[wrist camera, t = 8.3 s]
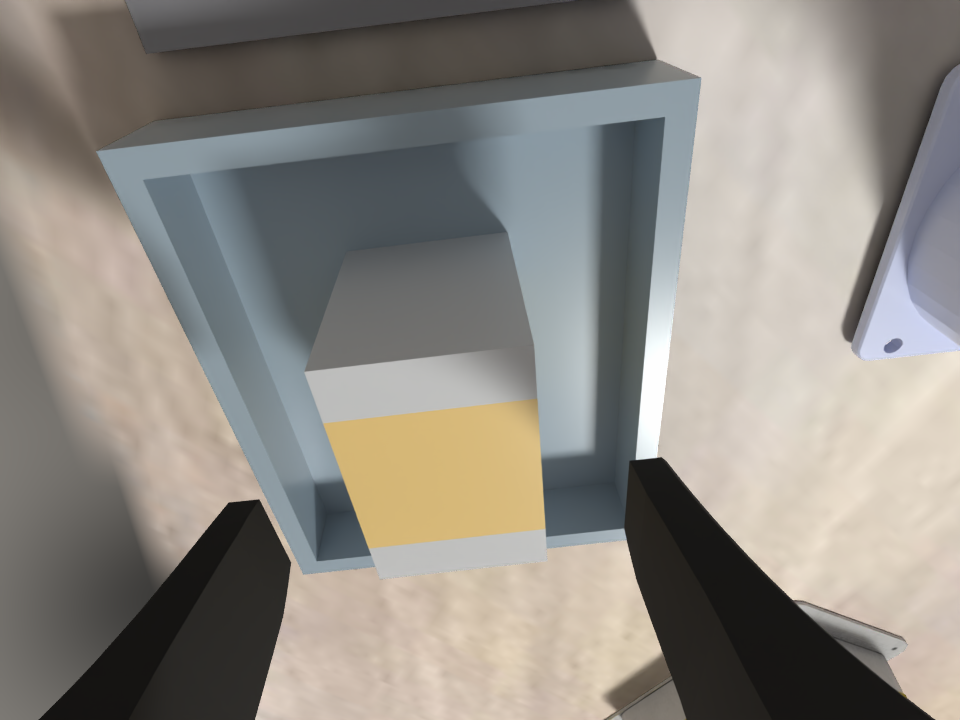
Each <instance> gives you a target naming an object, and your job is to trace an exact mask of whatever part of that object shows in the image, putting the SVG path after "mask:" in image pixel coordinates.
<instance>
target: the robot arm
mask: <svg viewBox="0 0 960 720" xmlns="http://www.w3.org/2000/svg"><path fill="white" fill-rule="evenodd" d="M890 340H891V342H889V341H890ZM887 342H889V343H888V344H886V343H887ZM851 349H852V351H853V353H855V354H856V355H857V356H858V357H859V358H860V359H862V360H867V361H871V360H880V359H889V358H898V357H907V356H916V355H925V354H934V353H943V352H952V351H960V64H959V65H957V66H956V67H954V68H953V69H952V70H951V72H950V73H949V74H948V75H947V76H946V78H945V80H944V81H943V83H942V85H941V88H940V91H939V94H938V96H937V99H936V102H935V105H934V108H933V111H932V114H931V117H930V119H929V122H928V125H927V128H926V131H925V134H924V137H923V140H922V142H921V145H920V148H919V151H918V154H917V157H916V160H915V163H914V165H913V168H912V171H911V174H910V177H909V180H908V183H907V186H906V188H905V191H904V194H903V197H902V200H901V203H900V206H899V209H898V211H897V214H896V217H895V220H894V223H893V226H892V229H891V232H890V235H889V237H888V240H887V243H886V246H885V249H884V252H883V255H882V258H881V260H880V263H879V266H878V269H877V272H876V275H875V278H874V281H873V283H872V286H871V289H870V292H869V295H868V298H867V301H866V304H865V306H864V309H863V312H862V315H861V318H860V321H859V324H858V327H857V329H856V332H855V335H854V338H853V341H852V345H851ZM624 530H625V534H626V539H627V543H628V547H629V551H630V556H631V560H632V563H633V567H634V571H635V575H636V579H637V582H638V585H639V588H640V591H641V594H642V596H643V599H644V602H645V605H646V608H647V610H648V613H649V616H650V619H651V621H652V624H653V627H654V630H655V632H656V635H657V638H658V641H659V643H660V646H661V649H662V652H663V654H664V657H665V660H666V663H667V665H668V668H669V671H670V674H671V676H672V679H673V682H674V685H675V687H676V690H677V693H678V695H679V698H680V701H681V704H682V708H683V711H684V714H685V717H686V720H935V719H933V718H932V717H931V716H929V715H928V714H927V713H926V712H924V711H923V710H922V709H920V708H919V707H918V706H916V705H915V704H914V703H913V702H911V701H910V700H909V699H907V698H906V697H905V696H903V695H902V694H901V693H900V692H898V691H897V690H896V689H894V688H893V687H892V686H890V685H889V684H888V683H887V682H885V681H884V680H883V679H882V678H881V677H879V676H878V675H877V674H876V673H875V672H873V671H872V670H871V669H870V668H869V667H867V666H866V665H865V664H864V663H863V662H861V661H860V660H859V659H858V658H857V657H855V656H854V655H853V654H852V653H851V652H849V651H848V650H847V649H846V648H845V647H844V646H843V645H841V644H840V643H839V642H838V641H837V640H836V639H835V638H833V637H832V636H831V635H830V634H829V633H828V632H827V631H825V630H824V629H823V628H822V627H821V626H820V625H819V624H818V623H816V622H815V621H814V620H813V619H812V618H811V617H810V616H809V615H808V614H807V613H806V612H805V611H803V610H802V609H801V608H800V607H799V606H798V605H797V604H796V603H795V602H794V601H793V600H792V599H791V598H790V597H789V596H788V595H787V594H786V593H785V592H784V591H783V590H782V589H781V588H779V587H778V586H777V585H776V584H775V583H774V582H773V581H772V580H771V579H770V578H769V577H768V576H767V575H766V574H765V573H764V572H763V571H762V570H761V569H760V568H759V567H758V566H757V565H756V564H755V562H754V561H753V560H752V559H751V558H750V557H749V556H748V555H747V554H746V553H745V552H744V551H743V550H742V549H741V548H740V547H739V545H738V544H737V543H736V542H735V541H734V540H733V539H732V538H731V537H730V536H729V535H728V534H727V533H726V532H725V530H724V529H723V528H722V527H721V526H720V525H719V524H718V523H717V522H716V520H715V519H714V518H713V517H712V516H711V515H710V514H709V512H708V511H707V510H706V509H705V508H704V507H703V505H702V504H701V503H700V502H699V501H698V500H697V498H696V497H695V496H694V495H693V494H692V492H691V491H690V490H689V489H688V488H687V486H686V485H685V484H684V483H683V482H682V480H681V479H680V478H679V477H678V475H677V474H676V473H675V472H674V470H673V469H672V468H671V466H670V465H669V464H668V463H667V461H665V460H664V459H663V458H662V457H660V458H650V459H641V460H631V461H629V472H628V485H627V498H626V510H625V523H624ZM290 567H291V561H290V559H289V557H288V555H287V553H286V552H285V550H284V548H283V546H282V544H281V542H280V540H279V538H278V536H277V534H276V532H275V530H274V528H273V526H272V524H271V522H270V520H269V518H268V516H267V514H266V512H265V510H264V508H263V506H262V504H261V502H260V500H250V501H240V502H230V503H228V504H227V505H226V507H225V508H224V509H223V510H222V511H221V513H220V514H219V515H218V516H217V518H216V519H215V520H214V521H213V522H212V524H211V525H210V526H209V527H208V529H207V530H206V531H205V532H204V534H203V535H202V536H201V537H200V539H199V540H198V541H197V542H196V544H195V545H194V546H193V547H192V549H191V550H190V551H189V552H188V553H187V555H186V556H185V557H184V558H183V560H182V561H181V562H180V563H179V565H178V566H177V567H176V568H175V570H174V571H173V572H172V573H171V574H170V576H169V577H168V578H167V579H166V581H165V582H164V583H163V584H162V585H161V587H160V588H159V589H158V590H157V591H156V593H155V594H154V595H153V596H152V597H151V599H150V600H149V601H148V602H147V604H146V605H145V606H144V607H143V608H142V609H141V611H140V612H139V613H138V614H137V615H136V617H135V618H134V619H133V620H132V621H131V622H130V623H129V625H127V627H126V628H125V629H124V630H123V631H122V632H121V633H120V634H119V636H118V637H117V638H116V639H115V640H114V641H113V642H112V643H111V645H110V646H109V647H108V648H107V649H106V650H105V651H104V652H103V654H102V655H101V656H100V657H99V658H98V659H97V660H96V661H95V663H94V664H93V665H92V666H91V667H90V668H89V669H88V670H87V671H86V672H85V673H84V674H83V675H82V677H80V679H79V680H78V681H77V682H76V683H75V684H74V685H73V686H72V687H71V688H70V689H69V690H68V691H67V692H66V693H65V694H64V695H63V696H62V697H61V698H60V699H59V700H58V701H57V702H56V703H55V704H54V705H53V706H52V707H51V708H50V709H49V710H48V711H47V712H46V713H45V714H44V715H43V716H42V717H41V718H40V719H39V720H255V717H256V714H257V710H258V706H259V703H260V699H261V696H262V692H263V688H264V685H265V681H266V678H267V674H268V670H269V667H270V663H271V660H272V656H273V652H274V648H275V645H276V641H277V637H278V634H279V630H280V626H281V622H282V618H283V614H284V608H285V602H286V596H287V589H288V582H289V574H290Z"/></svg>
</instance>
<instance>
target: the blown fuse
mask: <svg viewBox="0 0 960 720" xmlns="http://www.w3.org/2000/svg"><path fill="white" fill-rule="evenodd" d="M304 373H305V376H306V378H307V381H308V384H309V387H310V389H311V392H312V395H313V398H314V400H315V403H316V406H317V408H318V411H319V414H320V417H321V419H322V422H323V425H324V428H325V430H326V433H327V436H328V439H329V441H330V444H331V447H332V449H333V452H334V455H335V458H336V460H337V463H338V466H339V469H340V471H341V474H342V477H343V480H344V482H345V485H346V488H347V491H348V493H349V496H350V499H351V501H352V504H353V507H354V510H355V512H356V515H357V518H358V521H359V523H360V526H361V529H362V532H363V534H364V537H365V540H366V542H367V545H368V548H369V551H370V553H371V556H372V559H373V562H374V564H375V567H376V570H377V573H378V575H379V578H380V579H388V578H398V577H407V576H416V575H425V574H434V573H443V572H452V571H461V570H471V569H480V568H489V567H498V566H507V565H516V564H525V563H534V562H544V561H547V546H546V530H545V513H544V497H543V481H542V464H541V448H540V432H539V415H538V399H537V383H536V366H535V350H534V342H533V338H532V333H531V329H530V325H529V321H528V316H527V312H526V308H525V304H524V299H523V295H522V291H521V287H520V282H519V278H518V274H517V270H516V266H515V261H514V257H513V253H512V249H511V244H510V240H509V236H508V232H502V233H494V234H486V235H478V236H469V237H461V238H453V239H445V240H437V241H428V242H420V243H412V244H404V245H396V246H388V247H379V248H371V249H363V250H355V251H347V252H346V254H345V257H344V260H343V263H342V266H341V268H340V271H339V274H338V277H337V280H336V283H335V285H334V288H333V291H332V294H331V297H330V300H329V303H328V305H327V308H326V311H325V314H324V317H323V320H322V322H321V325H320V328H319V331H318V334H317V337H316V339H315V342H314V345H313V348H312V351H311V354H310V357H309V359H308V362H307V365H306V368H305V371H304Z"/></svg>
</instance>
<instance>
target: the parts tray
mask: <svg viewBox="0 0 960 720" xmlns="http://www.w3.org/2000/svg"><path fill="white" fill-rule="evenodd" d="M700 86H701V77H698V76H696V75H694V74H691V73H689V72H686V71H684V70H682V69H679V68H677V67H675V66H672V65H670V64H668V63H665V62H663V61H660V60H650V61H642V62H634V63H626V64H617V65H609V66H601V67H593V68H585V69H577V70H568V71H560V72H552V73H544V74H536V75H527V76H519V77H511V78H503V79H495V80H486V81H478V82H470V83H462V84H454V85H445V86H437V87H429V88H421V89H413V90H404V91H396V92H388V93H380V94H372V95H363V96H355V97H347V98H339V99H331V100H322V101H314V102H306V103H298V104H290V105H282V106H273V107H265V108H257V109H249V110H241V111H232V112H224V113H216V114H208V115H200V116H191V117H183V118H175V119H167V120H159V121H153V122H151V123H149V124H148V125H146V126H144V127H142V128H140V129H138V130H136V131H134V132H132V133H130V134H128V135H126V136H124V137H123V138H121V139H119V140H117V141H115V142H113V143H111V144H109V145H107V146H105V147H103V148H101V149H99V150H98V151H96V152H97V154H98V156H99V158H100V160H101V162H102V164H103V166H104V168H105V170H106V173H107V175H108V177H109V179H110V181H111V183H112V185H113V187H114V189H115V191H116V193H117V195H118V197H119V199H120V201H121V203H122V205H123V207H124V209H125V211H126V213H127V215H128V217H129V219H130V221H131V224H132V226H133V228H134V230H135V232H136V234H137V236H138V238H139V240H140V242H141V244H142V246H143V248H144V250H145V252H146V254H147V256H148V258H149V260H150V262H151V264H152V266H153V268H154V270H155V272H156V275H157V277H158V279H159V281H160V283H161V285H162V287H163V289H164V291H165V293H166V295H167V297H168V299H169V301H170V303H171V305H172V307H173V309H174V311H175V313H176V315H177V317H178V319H179V321H180V324H181V326H182V328H183V330H184V332H185V334H186V336H187V338H188V340H189V342H190V344H191V346H192V348H193V350H194V352H195V354H196V356H197V358H198V360H199V362H200V364H201V366H202V368H203V370H204V372H205V375H206V377H207V379H208V381H209V383H210V385H211V387H212V389H213V391H214V393H215V395H216V397H217V399H218V401H219V403H220V405H221V407H222V409H223V411H224V413H225V415H226V417H227V419H228V421H229V423H230V426H231V428H232V430H233V432H234V434H235V436H236V438H237V440H238V442H239V444H240V446H241V448H242V450H243V452H244V454H245V456H246V458H247V460H248V462H249V464H250V466H251V468H252V470H253V472H254V475H255V477H256V479H257V481H258V483H259V485H260V487H261V489H262V491H263V493H264V495H265V497H266V499H267V501H268V503H269V505H270V507H271V509H272V511H273V513H274V515H275V517H276V519H277V521H278V523H279V526H280V528H281V530H282V532H283V534H284V536H285V538H286V540H287V542H288V544H289V546H290V548H291V550H292V552H293V554H294V556H295V558H296V560H297V562H298V564H299V566H300V568H301V570H302V572H303V574H313V573H322V572H332V571H341V570H350V569H360V568H369V567H375V564H374V562H373V559H372V556H371V553H370V551H369V548H368V545H367V542H366V540H365V537H364V534H363V532H362V529H361V526H360V523H359V521H358V518H357V515H356V512H355V510H354V507H353V504H352V501H351V499H350V496H349V493H348V491H347V488H346V485H345V482H344V480H343V477H342V474H341V471H340V469H339V466H338V463H337V460H336V458H335V455H334V452H333V449H332V447H331V444H330V441H329V439H328V436H327V433H326V430H325V428H324V425H323V422H322V419H321V417H320V414H319V411H318V408H317V406H316V403H315V400H314V398H313V395H312V392H311V389H310V387H309V384H308V381H307V378H306V376H305V373H304V371H305V368H306V365H307V362H308V359H309V357H310V354H311V351H312V348H313V345H314V342H315V339H316V337H317V334H318V331H319V328H320V325H321V322H322V320H323V317H324V314H325V311H326V308H327V305H328V303H329V300H330V297H331V294H332V291H333V288H334V285H335V283H336V280H337V277H338V274H339V271H340V268H341V266H342V263H343V260H344V257H345V254H346V252H347V251H355V250H363V249H371V248H379V247H388V246H396V245H404V244H412V243H420V242H428V241H437V240H445V239H453V238H461V237H469V236H478V235H486V234H494V233H502V232H508V236H509V240H510V244H511V249H512V253H513V257H514V261H515V266H516V270H517V274H518V278H519V282H520V287H521V291H522V295H523V299H524V304H525V308H526V312H527V316H528V321H529V325H530V329H531V333H532V338H533V342H534V350H535V366H536V383H537V399H538V415H539V432H540V448H541V464H542V481H543V497H544V513H545V530H546V546H547V548H556V547H566V546H575V545H585V544H594V543H603V542H613V541H622V540H627V539H626V534H625V530H624V523H625V510H626V498H627V485H628V472H629V461H631V460H641V459H650V458H657V451H658V442H659V434H660V425H661V417H662V408H663V400H664V391H665V383H666V374H667V366H668V357H669V349H670V340H671V332H672V323H673V315H674V306H675V298H676V290H677V281H678V273H679V264H680V256H681V247H682V239H683V230H684V222H685V213H686V205H687V196H688V188H689V179H690V171H691V162H692V154H693V145H694V137H695V128H696V120H697V111H698V103H699V94H700Z"/></svg>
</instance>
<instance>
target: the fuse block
mask: <svg viewBox="0 0 960 720" xmlns="http://www.w3.org/2000/svg"><path fill="white" fill-rule="evenodd" d="M568 1H576V0H125V2H126V4H127V7H128V9H129V12H130V14H131V17H132V19H133V22H134V24H135V27H136V29H137V32H138V34H139V37H140V39H141V42H142V44H143V47H144V49H145V52H146V54H149V53H157V52H165V51H173V50H181V49H189V48H197V47H205V46H213V45H221V44H229V43H238V42H246V41H254V40H262V39H270V38H278V37H286V36H294V35H302V34H310V33H318V32H326V31H334V30H342V29H350V28H358V27H366V26H374V25H382V24H390V23H398V22H407V21H415V20H423V19H431V18H439V17H447V16H455V15H463V14H471V13H479V12H487V11H495V10H503V9H511V8H519V7H527V6H535V5H543V4H551V3H559V2H568Z"/></svg>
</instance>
